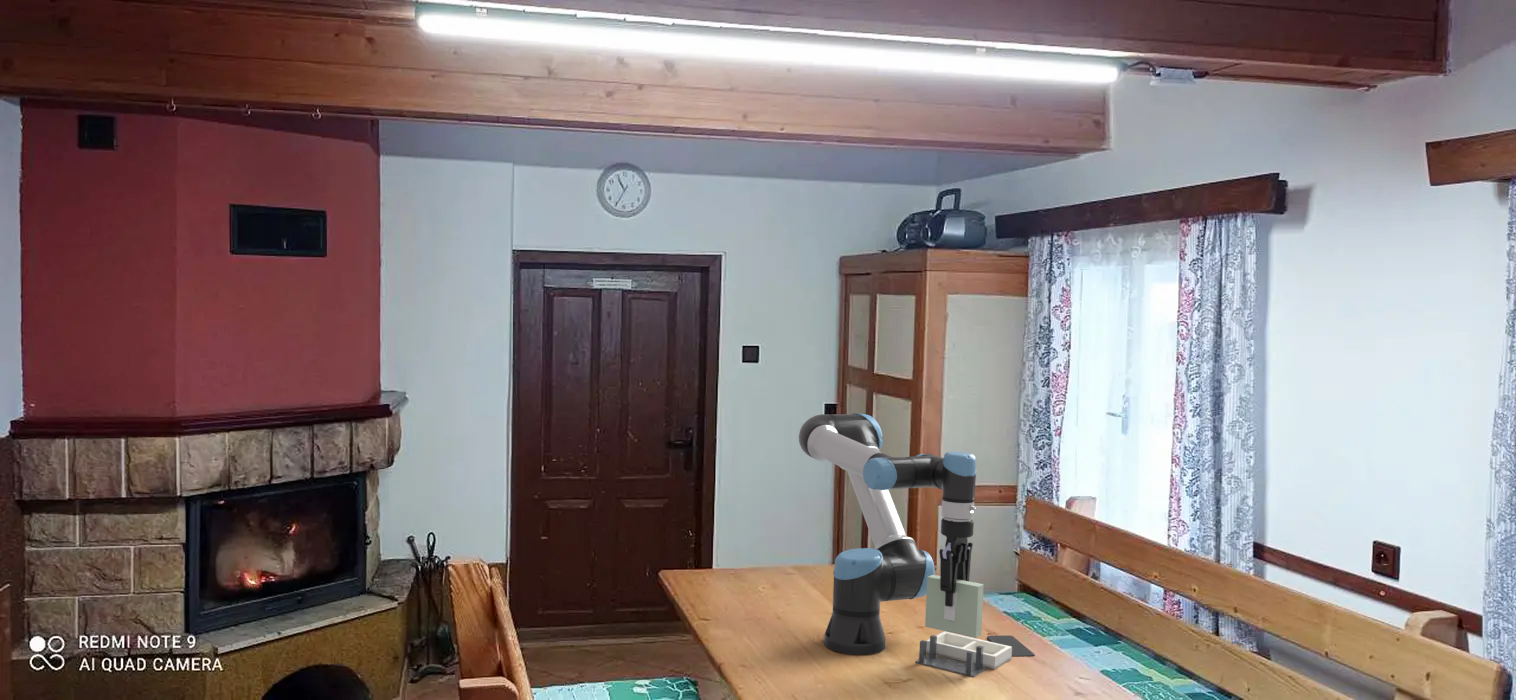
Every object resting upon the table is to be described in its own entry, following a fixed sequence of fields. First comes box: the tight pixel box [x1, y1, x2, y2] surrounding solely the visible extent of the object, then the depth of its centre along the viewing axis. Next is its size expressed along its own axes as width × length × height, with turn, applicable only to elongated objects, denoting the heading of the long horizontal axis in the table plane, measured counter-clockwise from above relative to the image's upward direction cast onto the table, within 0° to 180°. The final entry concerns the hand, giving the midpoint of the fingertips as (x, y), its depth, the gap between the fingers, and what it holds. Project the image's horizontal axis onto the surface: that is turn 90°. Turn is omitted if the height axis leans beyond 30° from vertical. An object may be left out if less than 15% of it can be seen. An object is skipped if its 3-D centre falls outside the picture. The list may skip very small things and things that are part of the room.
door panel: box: [924, 574, 984, 639], centre depth 258 cm, size 13×4×12 cm, turn 55°
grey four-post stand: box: [914, 634, 987, 678], centre depth 259 cm, size 15×7×5 cm, turn 55°
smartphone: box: [986, 634, 1035, 658], centre depth 276 cm, size 7×1×15 cm
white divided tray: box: [926, 631, 1012, 670], centre depth 267 cm, size 18×10×3 cm, turn 55°
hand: (953, 617), depth 258 cm, fingers closed on door panel, 3 cm apart
